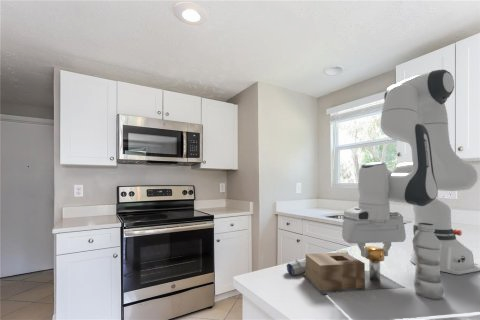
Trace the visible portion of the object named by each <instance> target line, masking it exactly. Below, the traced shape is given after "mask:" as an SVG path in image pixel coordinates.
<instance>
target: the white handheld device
mask: <svg viewBox="0 0 480 320" xmlns="http://www.w3.org/2000/svg"><path fill="white" fill-rule="evenodd" d="M336 253H347V254H349V252H348V251H347V250H346V249H340V250H337V251H336ZM286 271H287V273H288V274H289V275H290V276H292V277H293V276H297V275H301V276H302V275H303V274H305V273H306V258H305V259H300V260H297V259H295V261H292V262H288V263H287V264H286Z"/></svg>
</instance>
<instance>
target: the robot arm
mask: <svg viewBox="0 0 480 320" xmlns="http://www.w3.org/2000/svg"><path fill="white" fill-rule="evenodd" d="M454 89H455V79H454V77H453V75H452V73H451V71H450V72H449V71H448V70H446V69H436V70H431V71H429V72H425V73H421V74H417V75H414V76H412V77H410V78H407V79H404V80H402V81H400V82H395V83H393V84H392V85H390V86H389V87H387V89H386V90H385V92H384V95H383V99H384V102H383V105H382V110H381V116H380V128H381V131H382V132H383V134H384V135H385V136H387V137H388V138H390V139H393V140H395V141H400V142H403V143H407V144H408V145H409V146H410V148H411V158H412V159H411V160H412V161H410V162H403V163H398V164H397V165H396V166H395V167H394V169H393V171H392V170H389V169H388V167H387V163H385V162H383V161H375V162H373V161H372V162H366V163H364V164H362V165H360V167H359V171H358V178H357V181H358V184H357V188H358V189H357V190H358V193H359V198H358V204H357V205H356V206H353V207H350V208H348V209H346V210H344V211H343V215H344V217H345V218H344V219H343V221H342V227H341V228H342V231H341V233H342V235H341V236H342V239H343V240H344V242H346V243H348V244H350V245H352V244H357V246H358V248H359V250H360V256H361V257H362V258H365V257H369V255H368V254H369V252H368V251H366V250H365V247H366V244H380V243H382V244H383V246H382V247H381V248H382V249H384V257H388V256H389V250H390V249H391V247H392V243H403V242H405V240H406V238H407V235H406V229H405V228H406V227H405V224H404V216H403V215H402V213H400V212H398V211H395V212H393V211H392V212H390V211H391V210H390V206H391V205H390V202H394V203H403V204H409V205H412V208H413V217H414V224H413V225H412V226H413V228H412V230H413V237H414V236H415V235H416V234H417V233H418V232H419V230H418V223H430V224H434V229H435V232H434V234H435V236H436V237H437V238H438V239H439V241H440V243H441V253H440V264H439V266H440V269H439V270H440V272H443V273H444V272H445V273H449V274H453V275H464V274H469V273H474V272H479V271H480V264H479V263H476V262H475V260H474V254H473V252H472V250H471V249H469V248H468V247H467V246H465V245H464V244H463V243H462V242H460V241H459V240H458V239H457V236H462V233H463V231H462V230H461V229H456V228H455V229H453V228H452V209H451V208H450V206H449V205H448V204H447V203H445V202H443V201H441V200H439V199H437V196H438V191H441V192H442V191H445V192H447V191H449V192H459V191H460V192H461V191H465V190H466V191H468V190H471V189H472V188H473V187H474V186H475V185H476V184H477V181H478V172H477V170H476V169H475V167H474V166H473V165H472V164H471V163H469V162H467V161H465V160H463V159H462V158H461V157H460V156H459V155H457V154H456V152H455V151H454V150H453V147H452V145H451V142H450V141H451V140H450V136H449V135H450V134H449V133H450V132H449V117H448V112H447V108H446V104H445V103H446V102H447V101H448V99H449V98H450V96H451V95H452V93H453V92H454ZM456 235H457V236H456ZM411 252H412V253H410V254H411V255H410V260H409V261H410V262H411V263H412V264H414V265H416V263H415V261H416V260H415V253H414V248H413V247H412V251H411Z"/></svg>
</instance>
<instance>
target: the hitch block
mask: <svg viewBox="0 0 480 320" xmlns="http://www.w3.org/2000/svg"><path fill="white" fill-rule="evenodd" d="M305 259H306V272H305V273H303V277H304V278H305V279H306V280H307V281H308V282H309V284H311V285H312V286H313V287H314V289H316V290H317V291H318V292H319V293H320V294H321V295H322V296H328V294H332V293H334V294H335V293H348V292H349V293H350V292H363V291H377V290H390V289H391V290H395V289H406V287H405V286H403V285H402V284H400V283H398V282H397V281H394V280H393V279H391V278H390V277H387V276H385V275H384V274H382V273H380V281H373V280H371V279H370V275H369V270H366V265H365V262H364V261H361V260H360V259H358V258H356V257H354V256H352V255H351V254H349V253H348V254H347V253H337V252H327V253H326V252H325V253H324V252H322V253H305Z"/></svg>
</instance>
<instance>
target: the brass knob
mask: <svg viewBox="0 0 480 320" xmlns="http://www.w3.org/2000/svg"><path fill="white" fill-rule="evenodd" d="M364 248H365V250H366V251H368V252H369V254H368V255H369V257H364V258H365V259H367V260H368V263H369V264H368V265H369V270H368V271H369V275H370V279H371V280H373V281H380V274H381V262H384V261H385V256H384V249H382V248H383V247H379V246H373V245H372V246H366V245H365V246H364Z"/></svg>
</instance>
